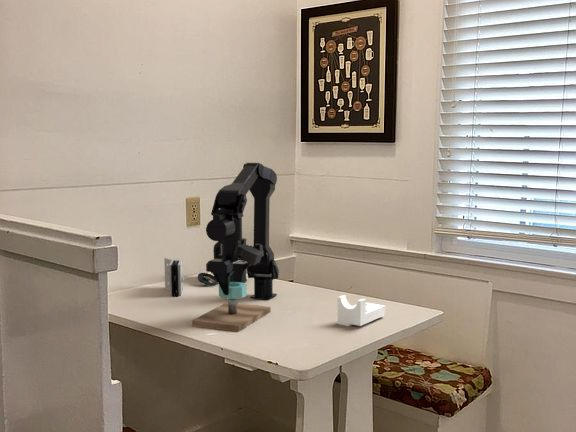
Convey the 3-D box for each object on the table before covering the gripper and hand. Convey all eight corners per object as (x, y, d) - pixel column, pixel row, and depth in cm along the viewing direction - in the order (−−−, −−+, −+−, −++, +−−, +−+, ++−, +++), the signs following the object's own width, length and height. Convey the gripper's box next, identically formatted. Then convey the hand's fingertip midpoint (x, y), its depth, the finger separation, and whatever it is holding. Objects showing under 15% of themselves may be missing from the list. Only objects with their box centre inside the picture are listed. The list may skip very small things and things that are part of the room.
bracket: (360, 329, 169) (360, 301, 168) (337, 324, 174) (337, 297, 173) (385, 318, 180) (385, 291, 179) (362, 314, 184) (363, 287, 183)
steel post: (230, 313, 180) (230, 290, 179) (238, 314, 179) (238, 291, 179) (226, 315, 178) (226, 292, 177) (234, 316, 177) (234, 293, 176)
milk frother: (252, 280, 226) (251, 238, 225) (229, 289, 212) (228, 245, 210) (217, 276, 233) (216, 235, 231) (192, 285, 218) (191, 242, 217)
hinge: (164, 287, 216) (164, 257, 215) (181, 286, 218) (180, 257, 216) (170, 297, 203) (169, 265, 202) (187, 296, 204) (186, 264, 203)
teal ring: (227, 291, 183) (227, 281, 182) (249, 293, 180) (249, 283, 180) (215, 297, 176) (215, 286, 176) (238, 299, 174) (238, 288, 173)
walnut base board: (226, 307, 191) (226, 302, 190) (270, 311, 185) (270, 306, 185) (191, 325, 172) (191, 320, 172) (239, 331, 167) (239, 325, 167)
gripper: (243, 242, 164) (244, 302, 166) (272, 232, 182) (273, 287, 183) (204, 240, 169) (205, 298, 170) (236, 230, 186) (237, 283, 188)
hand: (232, 291), depth 178 cm, fingers closed on teal ring, 7 cm apart
